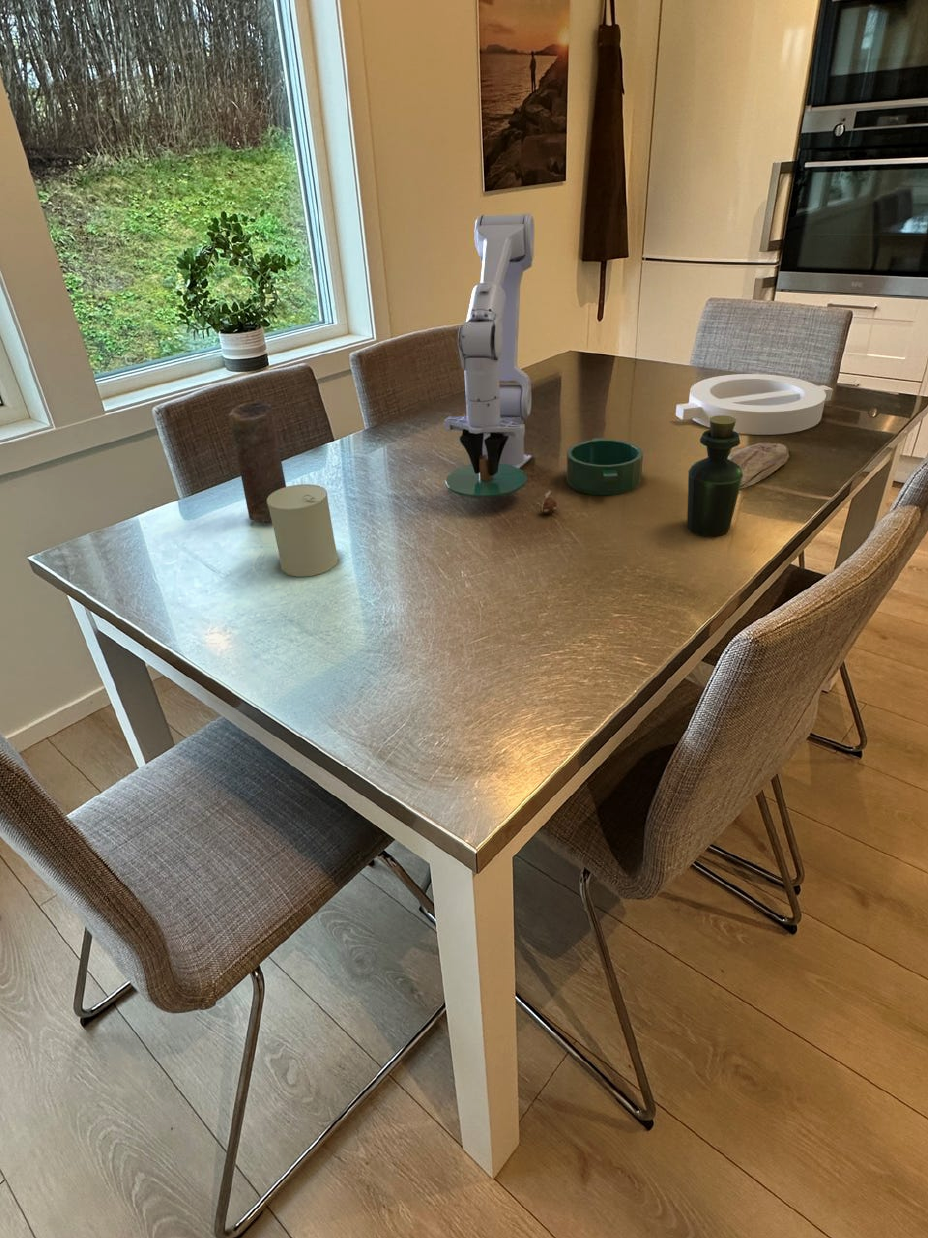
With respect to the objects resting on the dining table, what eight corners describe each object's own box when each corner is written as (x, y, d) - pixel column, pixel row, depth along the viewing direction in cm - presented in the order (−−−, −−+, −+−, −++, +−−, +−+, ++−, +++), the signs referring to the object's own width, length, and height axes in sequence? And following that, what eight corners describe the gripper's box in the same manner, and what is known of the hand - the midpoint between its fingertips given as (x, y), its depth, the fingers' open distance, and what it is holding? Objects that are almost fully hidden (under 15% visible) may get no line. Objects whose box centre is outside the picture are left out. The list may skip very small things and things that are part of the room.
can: (312, 582, 113) (298, 510, 107) (268, 569, 117) (252, 499, 111) (350, 556, 120) (339, 486, 113) (307, 544, 124) (294, 477, 117)
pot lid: (443, 502, 128) (441, 474, 125) (448, 470, 140) (446, 444, 137) (528, 499, 127) (527, 471, 124) (525, 467, 139) (525, 441, 136)
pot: (570, 502, 132) (571, 473, 129) (563, 462, 147) (563, 436, 144) (648, 500, 131) (650, 470, 128) (632, 460, 147) (634, 433, 144)
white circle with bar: (832, 402, 168) (837, 380, 166) (806, 442, 149) (810, 418, 147) (709, 389, 182) (711, 369, 179) (670, 424, 162) (672, 402, 160)
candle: (300, 511, 135) (279, 402, 124) (279, 529, 129) (255, 416, 119) (264, 507, 137) (240, 400, 127) (242, 524, 132) (215, 413, 121)
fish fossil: (748, 499, 129) (749, 492, 128) (692, 491, 134) (692, 485, 134) (795, 448, 145) (795, 443, 145) (742, 444, 151) (743, 438, 150)
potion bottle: (671, 523, 122) (683, 416, 113) (711, 513, 125) (726, 407, 115) (703, 544, 116) (718, 432, 106) (745, 532, 119) (763, 422, 109)
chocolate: (550, 518, 127) (551, 496, 125) (539, 515, 128) (539, 494, 126) (559, 511, 129) (559, 490, 127) (548, 509, 130) (548, 488, 128)
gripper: (433, 399, 125) (439, 475, 132) (512, 407, 119) (513, 486, 126) (453, 387, 130) (458, 461, 138) (529, 394, 124) (530, 471, 132)
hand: (485, 472), depth 132 cm, fingers closed on pot lid, 2 cm apart
